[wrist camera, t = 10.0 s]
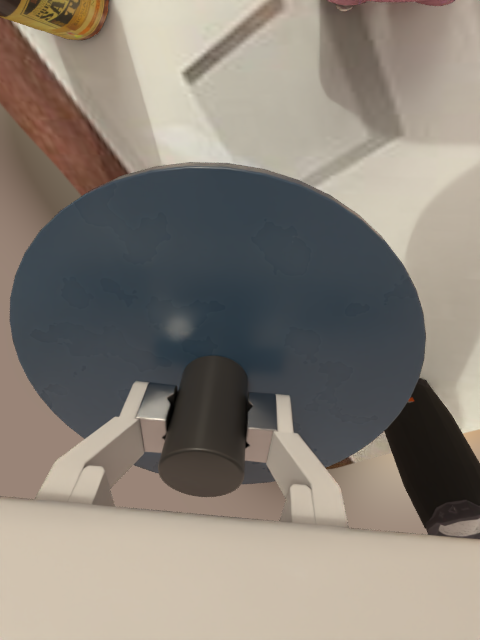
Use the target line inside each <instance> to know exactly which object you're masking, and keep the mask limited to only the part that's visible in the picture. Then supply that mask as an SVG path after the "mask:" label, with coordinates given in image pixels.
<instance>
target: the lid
mask: <svg viewBox="0 0 480 640" xmlns="http://www.w3.org/2000/svg"><path fill="white" fill-rule="evenodd" d="M10 325H11V332H12V338H13V343H14V346H15V349H16V352H17V355H18V358H19V361H20V363H21V365H22V367H23V369H24V372H25V374H26V376H27V378H28V379H29V381H30V382H31V384H32V386H33V387H34V389H35V390H36V391H37V393H38V395H39V396H40V397H41V398H42V400H43V401H44V402H45V403H46V404H47V406H48V407H49V408H50V409H51V410H52V411H53V412H54V413H55V414H56V415H57V416H58V417H59V418H60V419H61V420H62V421H63V422H64V423H65V424H66V425H67V426H69V427H70V428H71V429H73V430H74V431H75V432H76V433H78V434H79V435H80V436H82V437H83V438H84V439H86V438H87V437H88V436H90V435H91V434H92V433H94V432H95V431H96V430H98V429H99V428H100V427H102V426H103V425H104V424H106V423H107V422H108V421H110V420H111V419H112V418H114V417H119V416H120V413H121V411H122V409H123V406H124V404H125V402H126V399H127V397H128V395H129V392H130V390H131V388H132V385H133V384H134V383H135V381H141V382H151V383H160V384H168V385H176V386H177V389H178V393H177V397H176V401H175V404H174V408H173V412H172V416H171V419H170V423H169V427H168V430H167V434H166V438H165V442H164V445H163V449H162V453H155V452H144V454H143V455H142V456H141V457H140V458H139V459H138V460H137V462H136V463H135V464H134V465H135V466H138V467H140V468H143V469H146V470H149V471H152V472H155V473H159V475H160V477H161V479H162V480H163V481H164V482H165V483H166V484H167V485H168V486H170V487H171V488H173V489H175V490H177V491H179V492H181V493H184V494H188V495H192V496H199V497H216V496H222V495H226V494H228V493H231V492H233V491H234V490H236V489H237V488H238V487H239V486H240V485H241V484H255V483H265V482H266V483H267V482H273V481H275V479H274V477H273V475H272V474H271V472H270V470H269V468H268V466H267V465H266V463H262V462H254V461H246V460H245V447H246V421H247V397H248V392H258V393H270V394H281V395H289V396H290V400H291V410H292V420H293V430H294V433H298V434H299V436H300V437H301V438H302V439H303V441H304V442H305V443H306V444H307V446H308V447H309V448H310V449H311V451H312V452H313V453H314V454H315V456H316V457H317V458H318V459H319V461H320V462H321V463H322V464H323V466H324V467H325V468H326V467H328V466H330V465H333V464H335V463H337V462H340V461H342V460H343V459H345V458H347V457H349V456H351V455H352V454H354V453H356V452H358V451H359V450H361V449H362V448H363V447H365V446H366V445H368V444H369V443H371V442H372V441H373V440H374V439H375V438H377V437H378V436H379V435H380V434H381V433H382V432H383V431H384V430H386V429H387V428H388V427H389V425H390V424H391V423H392V422H393V421H394V420H395V419H396V417H397V416H398V415H399V414H400V413H401V411H402V410H403V408H404V406H405V405H406V403H407V402H408V400H409V399H410V397H411V395H412V393H413V391H414V388H415V386H416V384H417V382H418V379H419V376H420V372H421V369H422V365H423V361H424V353H425V340H426V333H425V324H424V315H423V310H422V307H421V304H420V301H419V297H418V294H417V291H416V288H415V286H414V284H413V282H412V280H411V278H410V276H409V275H408V273H407V271H406V269H405V267H404V265H403V264H402V262H401V261H400V260H399V258H398V257H397V256H396V254H395V253H394V252H393V251H392V249H391V248H390V247H389V245H388V244H387V243H386V241H385V240H384V239H383V238H382V236H381V235H380V234H379V233H378V232H377V231H375V230H374V229H373V228H372V227H371V226H370V225H369V224H368V223H367V222H366V221H365V220H364V219H363V218H362V217H361V216H360V215H358V214H357V213H356V212H354V211H353V210H351V209H350V208H348V207H347V206H345V205H344V204H342V203H341V202H339V201H338V200H337V199H335V198H334V197H332V196H331V195H329V194H326V193H324V192H322V191H320V190H318V189H316V188H314V187H312V186H310V185H308V184H306V183H304V182H302V181H300V180H297V179H294V178H290V177H287V176H284V175H281V174H278V173H275V172H271V171H268V170H265V169H260V168H254V167H248V166H242V165H236V164H230V163H200V162H189V163H181V164H172V165H164V166H156V167H152V168H148V169H145V170H141V171H137V172H134V173H130V174H127V175H123V176H120V177H118V178H116V179H114V180H112V181H110V182H107V183H105V184H103V185H101V186H99V187H96V188H94V189H92V190H91V191H89V192H87V193H86V194H84V195H83V196H81V197H80V198H79V199H77V200H76V201H74V202H73V203H71V204H70V205H68V206H67V207H65V208H64V209H62V210H61V211H60V212H59V213H58V214H57V215H56V216H55V217H54V218H53V219H52V220H51V221H50V222H49V223H48V224H46V225H45V226H44V227H43V228H42V229H41V230H40V232H39V233H38V234H37V236H36V237H35V239H34V240H33V242H32V243H31V245H30V246H29V247H28V249H27V250H26V252H25V254H24V256H23V258H22V261H21V263H20V265H19V268H18V270H17V272H16V275H15V279H14V284H13V288H12V293H11V297H10Z"/></svg>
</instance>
